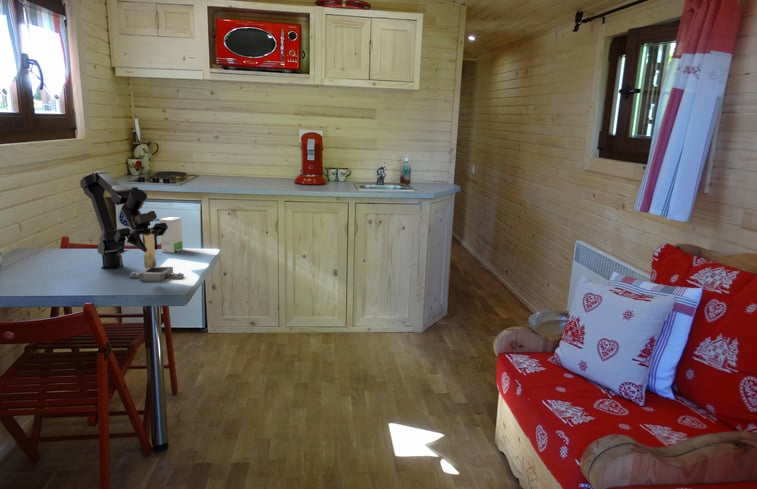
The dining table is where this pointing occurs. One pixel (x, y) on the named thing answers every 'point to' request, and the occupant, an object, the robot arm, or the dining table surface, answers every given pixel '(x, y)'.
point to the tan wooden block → (149, 250)
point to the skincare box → (172, 235)
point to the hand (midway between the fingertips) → (151, 250)
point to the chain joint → (157, 274)
